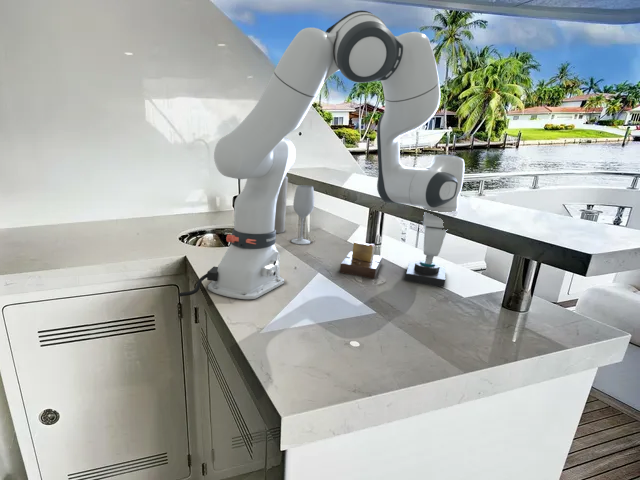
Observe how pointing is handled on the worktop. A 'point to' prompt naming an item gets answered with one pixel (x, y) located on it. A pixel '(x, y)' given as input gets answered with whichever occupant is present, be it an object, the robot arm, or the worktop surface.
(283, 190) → the thermos bottle
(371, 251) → the lock knob
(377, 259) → the plate
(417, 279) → the bell box
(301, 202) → the wineglass
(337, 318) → the worktop surface
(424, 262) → the bell button
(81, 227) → the worktop surface
